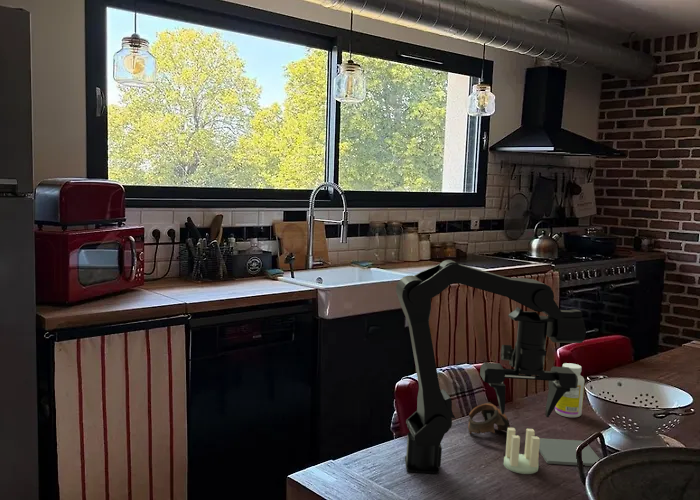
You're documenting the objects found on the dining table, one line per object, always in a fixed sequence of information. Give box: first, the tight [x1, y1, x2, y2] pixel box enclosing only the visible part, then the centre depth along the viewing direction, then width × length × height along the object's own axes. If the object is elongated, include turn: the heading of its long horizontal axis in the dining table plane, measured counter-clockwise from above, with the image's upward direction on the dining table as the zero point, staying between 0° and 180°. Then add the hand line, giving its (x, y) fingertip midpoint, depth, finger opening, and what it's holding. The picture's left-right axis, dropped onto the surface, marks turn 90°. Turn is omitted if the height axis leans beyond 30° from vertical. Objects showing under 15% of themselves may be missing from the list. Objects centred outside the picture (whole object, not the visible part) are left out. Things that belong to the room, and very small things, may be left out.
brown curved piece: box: [467, 401, 511, 435], centre depth 150 cm, size 12×10×8 cm
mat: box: [539, 437, 601, 467], centre depth 141 cm, size 12×12×1 cm
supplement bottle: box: [554, 362, 585, 418], centre depth 165 cm, size 7×7×13 cm
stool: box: [503, 427, 540, 475], centre depth 133 cm, size 7×7×7 cm
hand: (524, 415), depth 132 cm, fingers open, 9 cm apart
